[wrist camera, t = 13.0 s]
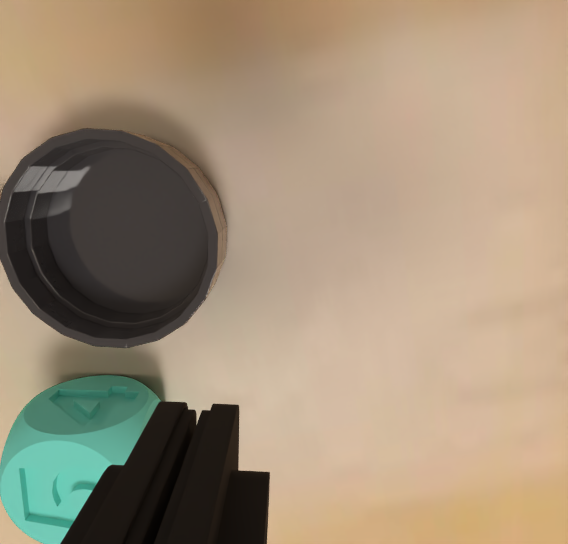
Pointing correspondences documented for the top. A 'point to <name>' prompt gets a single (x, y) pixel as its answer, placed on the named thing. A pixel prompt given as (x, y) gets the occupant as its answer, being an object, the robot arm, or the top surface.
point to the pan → (111, 236)
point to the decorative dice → (69, 449)
